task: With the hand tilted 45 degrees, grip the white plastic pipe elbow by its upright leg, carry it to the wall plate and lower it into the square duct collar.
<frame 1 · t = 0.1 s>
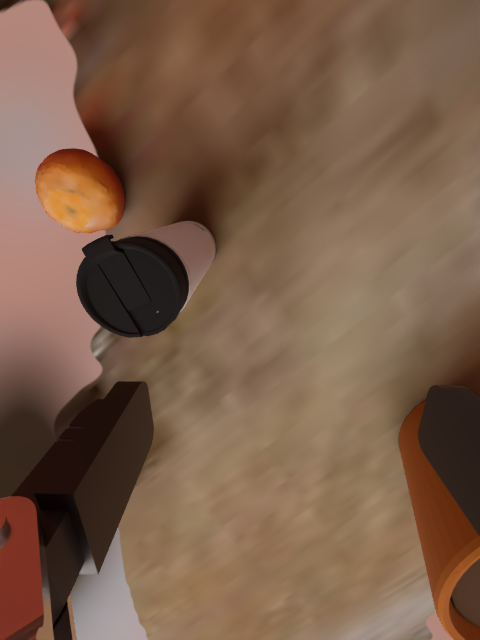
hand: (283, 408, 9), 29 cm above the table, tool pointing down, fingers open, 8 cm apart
fruit: (99, 194, 34), on the table
travel mug: (190, 246, 36), on the table
flower pot: (444, 433, 45), on the table
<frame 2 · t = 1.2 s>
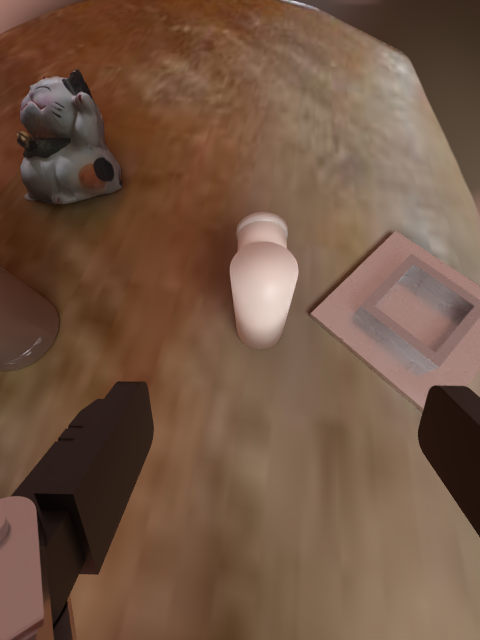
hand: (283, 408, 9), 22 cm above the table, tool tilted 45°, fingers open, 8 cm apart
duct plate: (410, 316, 34), on the table
lucky cat figurine: (81, 183, 44), on the table
elbow: (259, 327, 34), on the table
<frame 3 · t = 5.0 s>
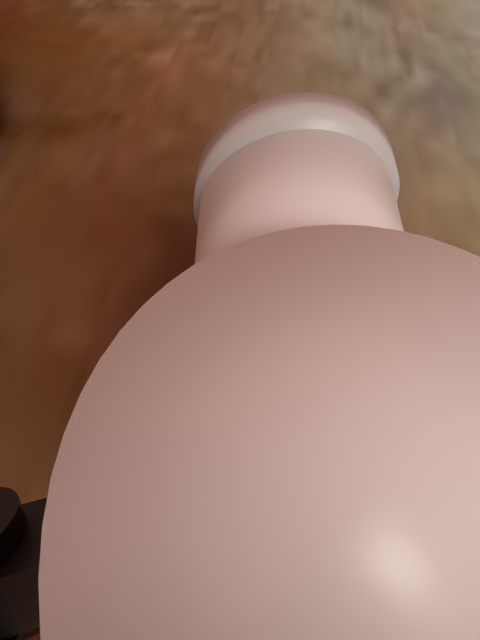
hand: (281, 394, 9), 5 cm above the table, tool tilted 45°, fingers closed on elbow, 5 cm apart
elbow: (272, 455, 13), on the table, touching gripper
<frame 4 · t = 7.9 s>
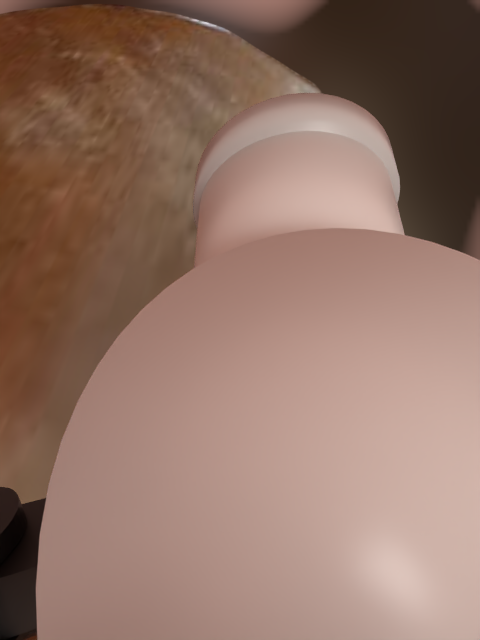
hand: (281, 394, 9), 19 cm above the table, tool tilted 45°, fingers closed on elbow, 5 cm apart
elbow: (272, 456, 13), point 14 cm above the table, touching gripper
when the fingers open (7 cm above the table, at t = 10.6 s): elbow stays where it is, resting on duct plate.
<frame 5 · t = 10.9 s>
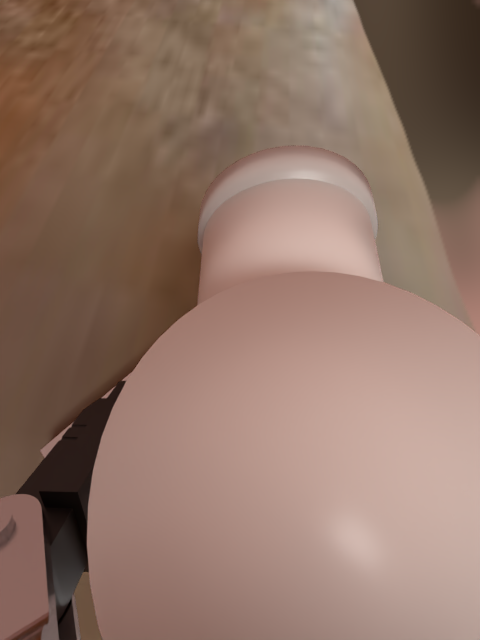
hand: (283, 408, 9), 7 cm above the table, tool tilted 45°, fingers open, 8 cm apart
elbow: (271, 461, 14), point 1 cm above the table, touching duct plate
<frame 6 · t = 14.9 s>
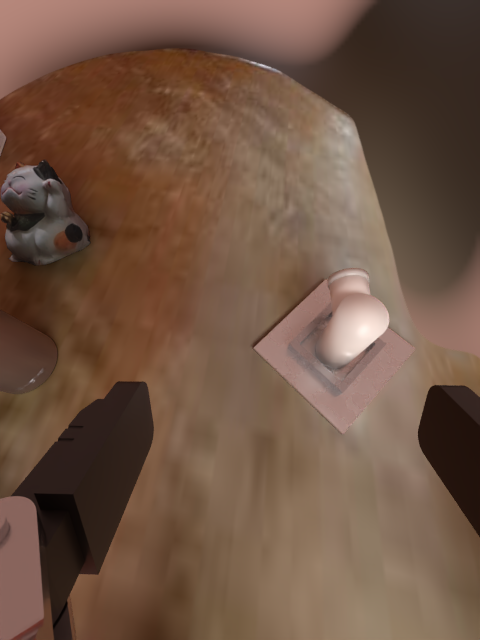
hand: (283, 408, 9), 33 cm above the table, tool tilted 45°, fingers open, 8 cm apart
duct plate: (332, 350, 43), on the table
lucky cat figurine: (56, 241, 53), on the table
elbow: (334, 350, 42), point 1 cm above the table, touching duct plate
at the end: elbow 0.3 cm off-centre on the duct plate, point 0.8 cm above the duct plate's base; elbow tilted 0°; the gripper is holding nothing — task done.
